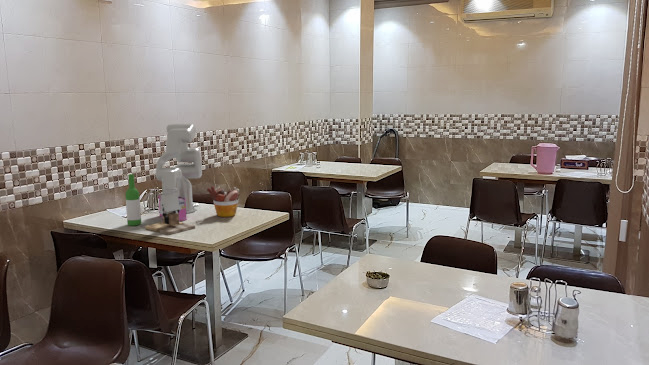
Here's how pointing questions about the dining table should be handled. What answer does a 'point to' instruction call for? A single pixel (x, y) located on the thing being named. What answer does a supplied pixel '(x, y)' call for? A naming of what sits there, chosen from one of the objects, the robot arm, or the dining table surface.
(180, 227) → the board
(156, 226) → the beige segmented panel
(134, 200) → the wine bottle
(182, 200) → the gum box
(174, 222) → the walnut block
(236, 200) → the bucket of meat
